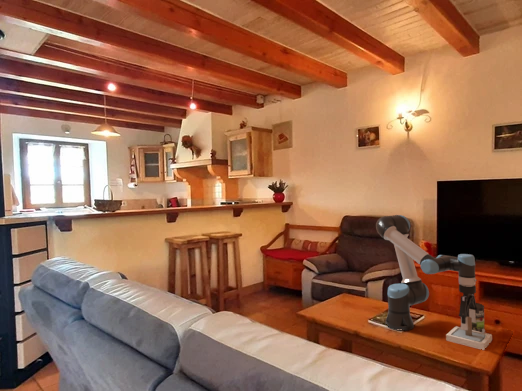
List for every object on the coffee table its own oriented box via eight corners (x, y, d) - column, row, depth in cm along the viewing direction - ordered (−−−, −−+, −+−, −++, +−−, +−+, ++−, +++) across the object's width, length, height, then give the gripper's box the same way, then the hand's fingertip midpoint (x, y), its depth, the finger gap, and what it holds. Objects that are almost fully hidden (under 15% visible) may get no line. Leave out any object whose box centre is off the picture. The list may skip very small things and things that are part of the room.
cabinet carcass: (446, 340, 181) (446, 330, 181) (455, 331, 192) (455, 322, 192) (484, 350, 169) (483, 340, 169) (492, 340, 179) (491, 330, 179)
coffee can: (489, 332, 189) (488, 306, 189) (474, 335, 186) (473, 308, 186) (473, 325, 199) (472, 300, 199) (458, 328, 196) (457, 303, 196)
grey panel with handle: (452, 337, 181) (452, 317, 181) (459, 332, 188) (458, 312, 188) (479, 344, 173) (478, 323, 172) (484, 338, 179) (484, 317, 179)
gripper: (467, 291, 169) (469, 335, 169) (482, 280, 186) (483, 320, 186) (451, 288, 174) (452, 330, 174) (466, 278, 191) (467, 317, 192)
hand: (468, 325), depth 180 cm, fingers open, 13 cm apart
